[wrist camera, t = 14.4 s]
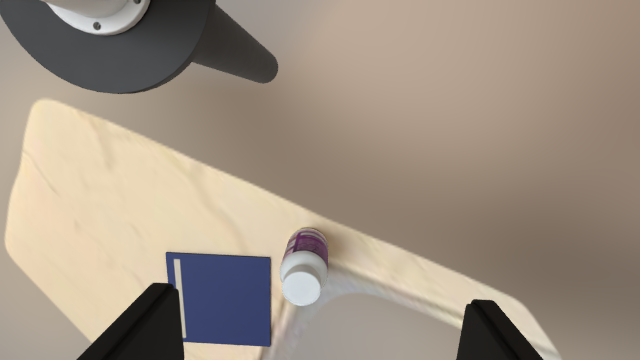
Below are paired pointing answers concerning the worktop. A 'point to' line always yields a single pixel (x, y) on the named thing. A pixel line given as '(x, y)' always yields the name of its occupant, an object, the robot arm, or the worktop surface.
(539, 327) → the worktop surface
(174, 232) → the worktop surface
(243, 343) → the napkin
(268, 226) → the worktop surface
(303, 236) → the pill bottle
